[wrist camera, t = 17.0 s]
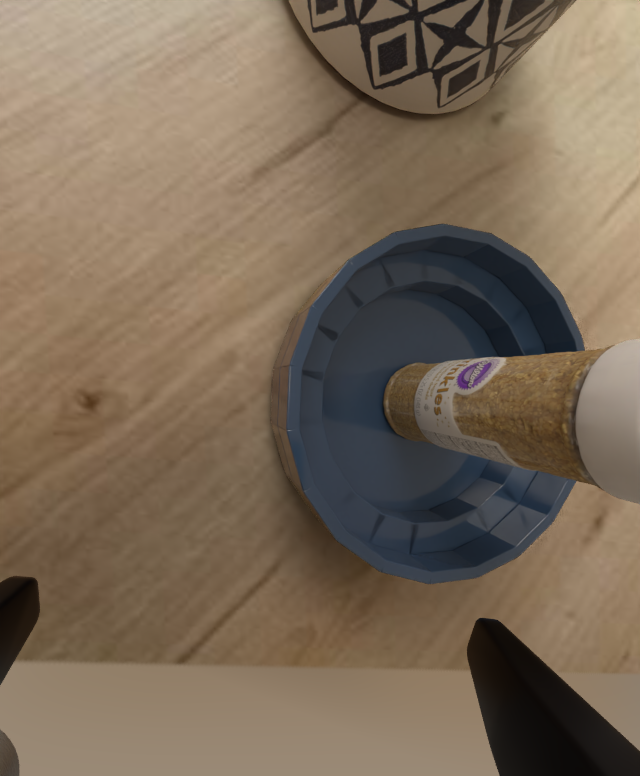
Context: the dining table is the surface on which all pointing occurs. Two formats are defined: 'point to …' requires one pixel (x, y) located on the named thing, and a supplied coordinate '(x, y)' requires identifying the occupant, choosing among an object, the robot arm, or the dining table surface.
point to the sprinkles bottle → (531, 412)
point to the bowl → (366, 393)
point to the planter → (426, 45)
